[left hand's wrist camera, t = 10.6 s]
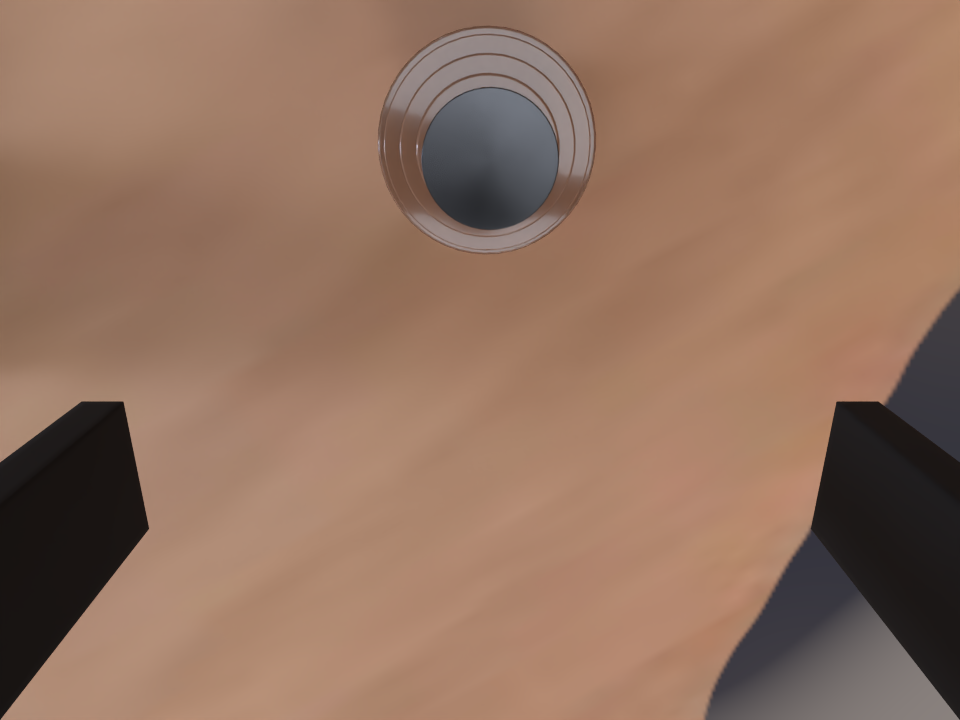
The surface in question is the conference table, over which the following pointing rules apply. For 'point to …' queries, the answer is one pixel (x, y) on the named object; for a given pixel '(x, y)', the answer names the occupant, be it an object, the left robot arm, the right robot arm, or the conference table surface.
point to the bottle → (468, 66)
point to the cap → (490, 158)
